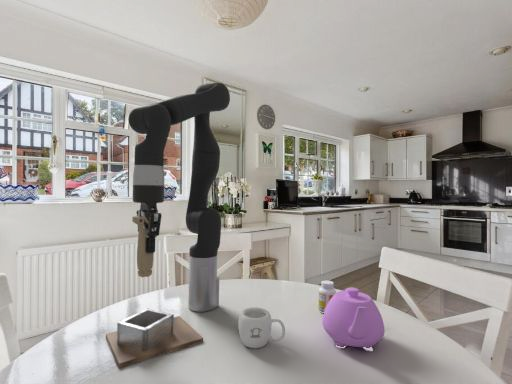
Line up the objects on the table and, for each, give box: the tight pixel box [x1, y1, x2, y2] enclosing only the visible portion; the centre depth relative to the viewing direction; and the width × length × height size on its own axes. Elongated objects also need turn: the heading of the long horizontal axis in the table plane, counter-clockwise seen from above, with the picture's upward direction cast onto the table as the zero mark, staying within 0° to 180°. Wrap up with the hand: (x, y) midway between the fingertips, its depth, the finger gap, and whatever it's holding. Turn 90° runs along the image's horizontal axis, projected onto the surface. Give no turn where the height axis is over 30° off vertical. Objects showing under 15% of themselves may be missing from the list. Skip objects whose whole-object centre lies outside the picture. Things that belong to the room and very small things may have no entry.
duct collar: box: [116, 307, 175, 352], centre depth 75 cm, size 10×9×5 cm
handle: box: [131, 215, 155, 278], centre depth 75 cm, size 5×6×15 cm
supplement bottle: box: [318, 280, 337, 313], centre depth 96 cm, size 5×5×10 cm
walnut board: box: [105, 315, 204, 369], centre depth 76 cm, size 20×16×1 cm
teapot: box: [321, 286, 386, 348], centre depth 77 cm, size 22×16×14 cm
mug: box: [238, 307, 286, 349], centre depth 75 cm, size 12×8×8 cm
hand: (147, 250), depth 75 cm, fingers closed on handle, 4 cm apart
